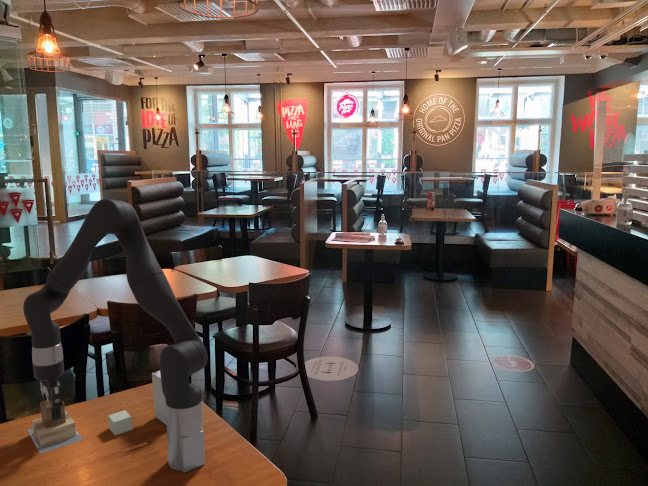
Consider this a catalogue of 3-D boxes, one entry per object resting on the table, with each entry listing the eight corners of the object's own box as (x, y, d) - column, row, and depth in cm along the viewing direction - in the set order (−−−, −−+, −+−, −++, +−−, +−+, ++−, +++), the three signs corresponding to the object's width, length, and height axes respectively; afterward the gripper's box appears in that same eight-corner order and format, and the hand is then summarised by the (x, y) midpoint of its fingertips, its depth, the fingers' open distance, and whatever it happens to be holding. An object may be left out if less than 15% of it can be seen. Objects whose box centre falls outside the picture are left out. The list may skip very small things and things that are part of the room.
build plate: (83, 442, 145) (83, 439, 144) (40, 456, 137) (40, 453, 137) (67, 419, 156) (67, 417, 156) (26, 432, 149) (26, 429, 149)
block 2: (132, 432, 150) (131, 416, 149) (115, 438, 147) (114, 422, 146) (126, 425, 154) (125, 410, 153) (109, 431, 151) (108, 415, 150)
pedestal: (75, 435, 146) (74, 422, 146) (40, 447, 141) (39, 433, 140) (66, 423, 153) (66, 410, 152) (33, 433, 147) (32, 420, 147)
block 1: (65, 422, 146) (64, 402, 145) (46, 428, 143) (44, 408, 142) (61, 415, 150) (59, 396, 148) (41, 421, 146) (40, 401, 145)
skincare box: (184, 420, 157) (182, 374, 155) (166, 427, 153) (164, 380, 150) (171, 410, 163) (169, 366, 160) (153, 416, 159) (151, 371, 156)
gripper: (69, 363, 140) (74, 418, 143) (55, 348, 151) (60, 400, 153) (39, 371, 135) (44, 427, 138) (27, 355, 146) (32, 408, 149)
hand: (52, 413), depth 146 cm, fingers open, 8 cm apart
